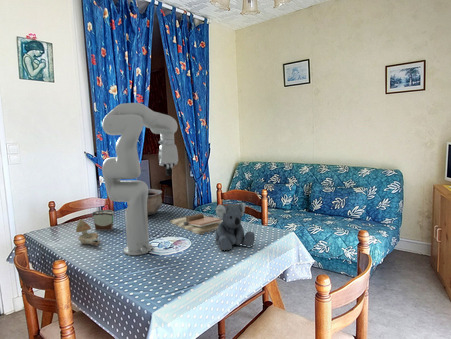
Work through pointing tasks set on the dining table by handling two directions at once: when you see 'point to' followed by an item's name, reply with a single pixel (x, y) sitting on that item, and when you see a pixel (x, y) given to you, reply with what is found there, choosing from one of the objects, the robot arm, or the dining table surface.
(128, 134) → the robot arm
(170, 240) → the dining table surface
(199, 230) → the tile stand
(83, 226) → the oil lamp
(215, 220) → the tile
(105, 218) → the food container
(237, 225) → the koala plush
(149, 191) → the ceramic bowl
